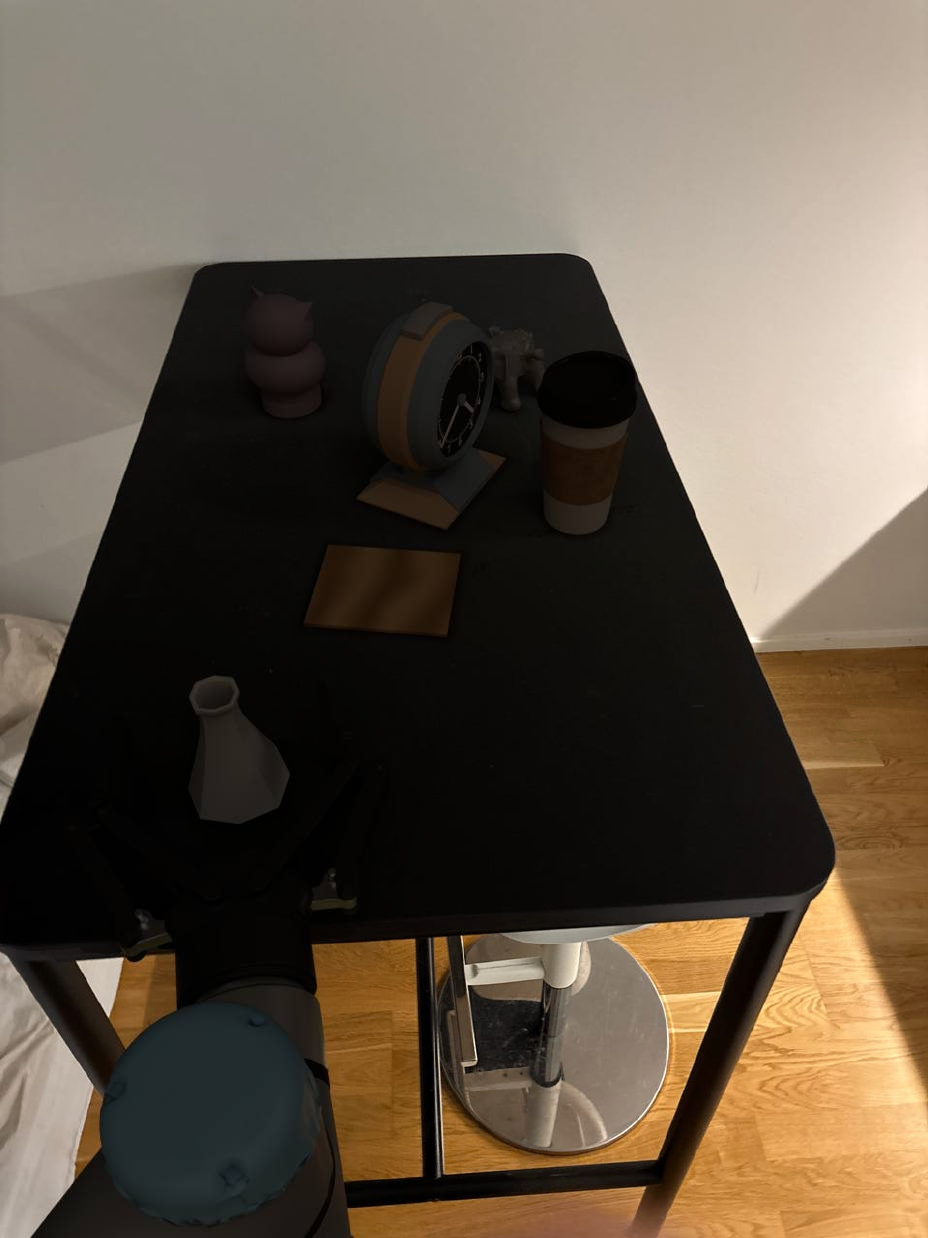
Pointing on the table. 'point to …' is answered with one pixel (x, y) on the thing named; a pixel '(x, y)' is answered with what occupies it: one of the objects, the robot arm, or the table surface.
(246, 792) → the flask
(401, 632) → the wooden board
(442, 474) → the alarm clock
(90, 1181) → the robot arm
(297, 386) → the cat figurine
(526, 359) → the gray elephant figurine
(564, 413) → the coffee cup
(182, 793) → the table surface
